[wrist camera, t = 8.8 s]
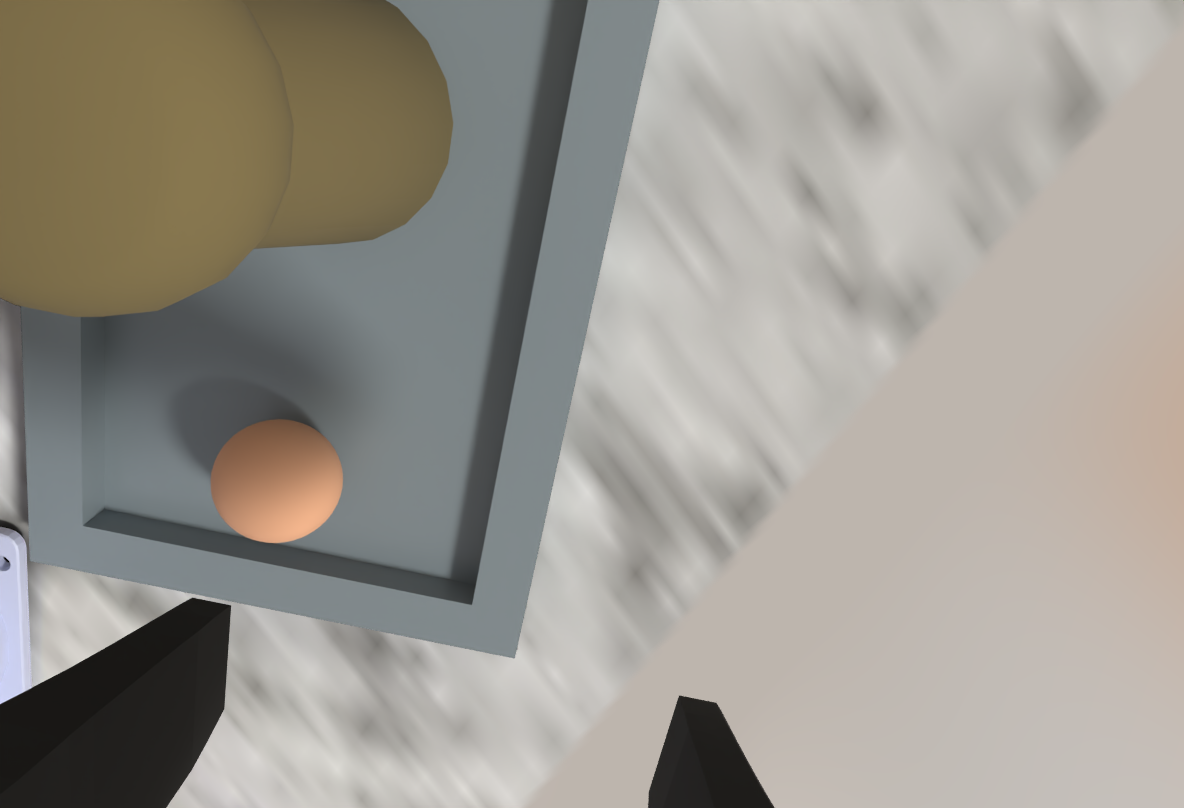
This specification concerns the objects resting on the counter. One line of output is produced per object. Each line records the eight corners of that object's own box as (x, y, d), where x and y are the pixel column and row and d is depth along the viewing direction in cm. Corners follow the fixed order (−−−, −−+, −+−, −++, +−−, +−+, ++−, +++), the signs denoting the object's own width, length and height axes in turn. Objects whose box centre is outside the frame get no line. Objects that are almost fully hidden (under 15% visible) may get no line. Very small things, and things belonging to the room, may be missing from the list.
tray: (520, 627, 24) (514, 658, 23) (64, 534, 24) (29, 560, 22) (683, -112, 18) (688, -132, 16) (49, -266, 17) (-2, -300, 16)
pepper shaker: (158, 138, 19) (-377, 162, 9) (285, -87, 18) (-197, -377, 7) (365, 292, 20) (102, 471, 10) (503, 95, 19) (357, 69, 8)
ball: (352, 517, 23) (311, 578, 20) (241, 494, 23) (183, 552, 20) (365, 415, 22) (323, 463, 19) (248, 391, 21) (187, 435, 18)
